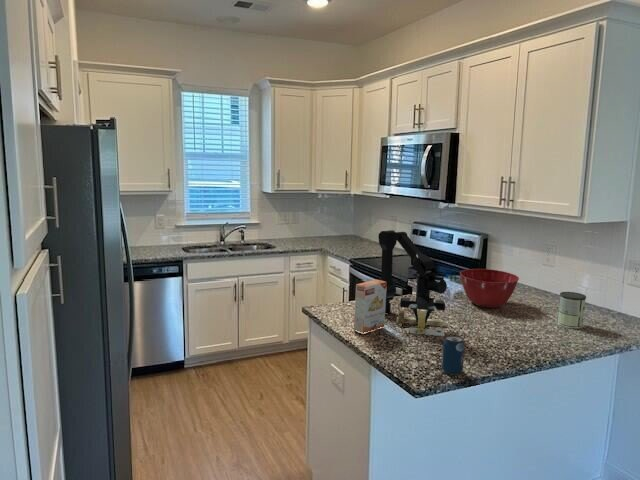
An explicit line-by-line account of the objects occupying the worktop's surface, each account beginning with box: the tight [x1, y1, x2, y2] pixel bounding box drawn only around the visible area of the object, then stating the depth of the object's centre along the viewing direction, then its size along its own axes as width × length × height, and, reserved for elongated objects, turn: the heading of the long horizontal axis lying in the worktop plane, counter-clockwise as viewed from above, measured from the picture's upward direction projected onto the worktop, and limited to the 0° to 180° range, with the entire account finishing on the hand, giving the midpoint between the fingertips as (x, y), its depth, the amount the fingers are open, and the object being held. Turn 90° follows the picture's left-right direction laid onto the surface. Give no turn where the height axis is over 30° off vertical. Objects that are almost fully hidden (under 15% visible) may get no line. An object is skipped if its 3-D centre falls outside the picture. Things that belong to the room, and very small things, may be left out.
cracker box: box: [353, 279, 387, 333], centre depth 196 cm, size 14×6×21 cm, turn 134°
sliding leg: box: [417, 310, 426, 330], centre depth 201 cm, size 3×11×7 cm, turn 169°
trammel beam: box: [396, 310, 444, 328], centre depth 202 cm, size 20×10×6 cm, turn 79°
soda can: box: [441, 334, 466, 376], centre depth 158 cm, size 7×7×12 cm
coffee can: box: [557, 291, 587, 329], centre depth 209 cm, size 10×10×14 cm
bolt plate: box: [408, 326, 446, 338], centre depth 197 cm, size 20×7×1 cm, turn 79°
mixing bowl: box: [459, 268, 520, 309], centre depth 239 cm, size 28×28×15 cm
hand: (421, 322), depth 202 cm, fingers closed on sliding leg, 3 cm apart
